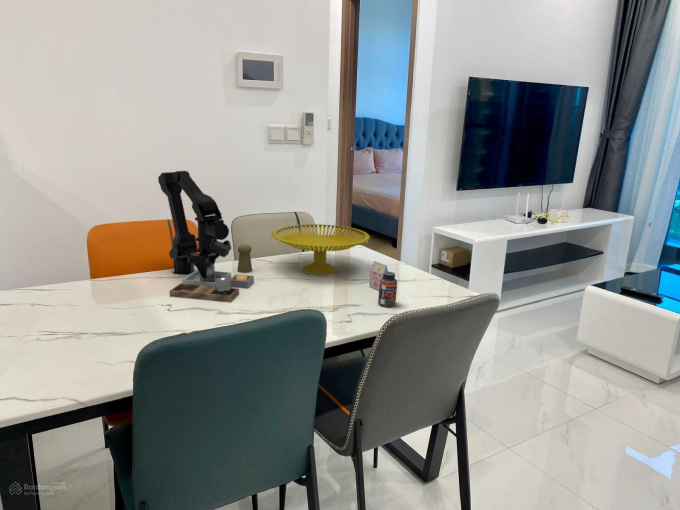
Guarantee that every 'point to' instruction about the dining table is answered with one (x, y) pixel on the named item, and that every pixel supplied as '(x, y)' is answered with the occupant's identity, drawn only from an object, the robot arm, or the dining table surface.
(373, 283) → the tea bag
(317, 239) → the yellow pedestal fruit bowl
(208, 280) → the cylinder
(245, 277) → the button
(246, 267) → the cork
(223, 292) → the seated steel billet
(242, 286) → the button housing
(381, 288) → the supplement bottle
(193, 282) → the sage tote
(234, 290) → the walnut pallet
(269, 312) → the dining table surface
